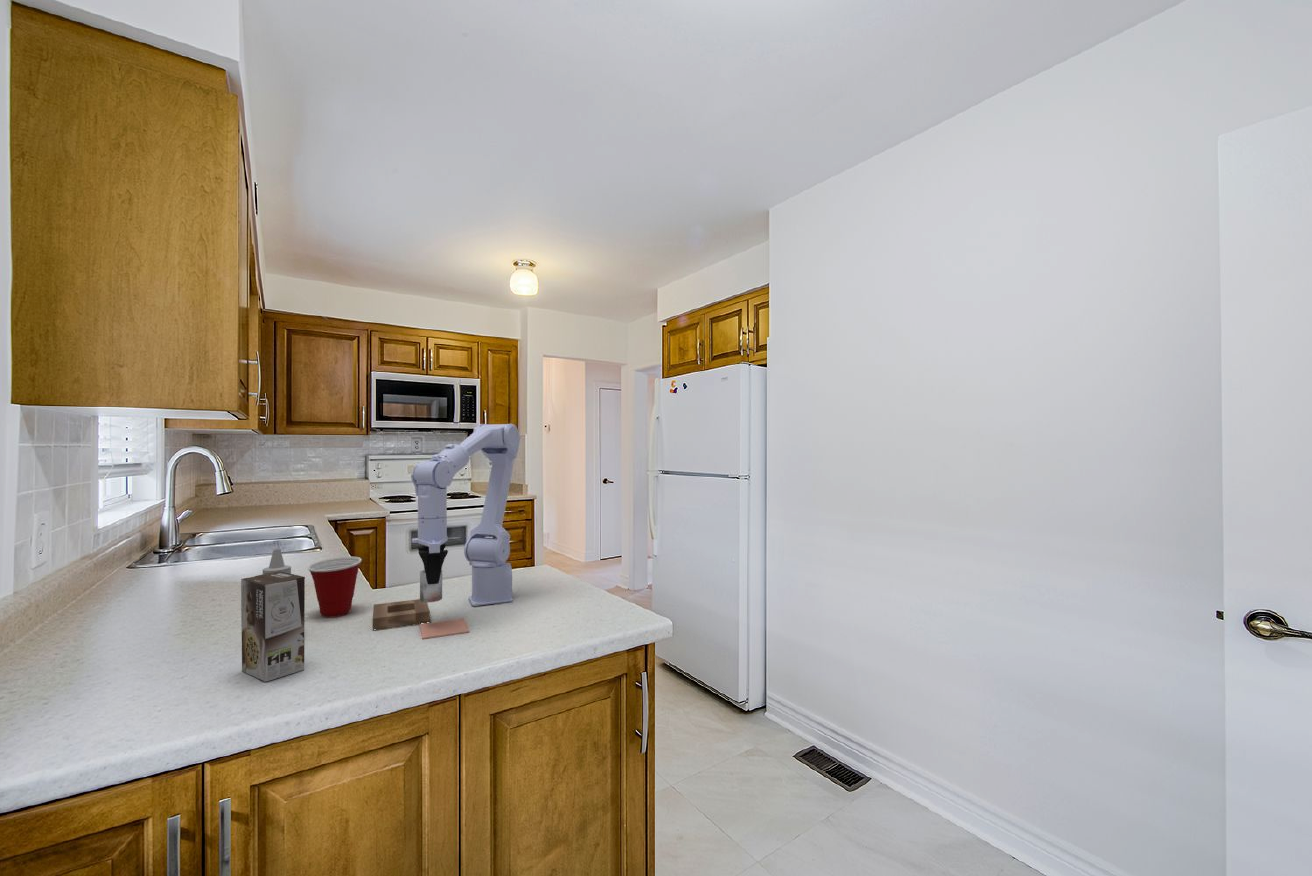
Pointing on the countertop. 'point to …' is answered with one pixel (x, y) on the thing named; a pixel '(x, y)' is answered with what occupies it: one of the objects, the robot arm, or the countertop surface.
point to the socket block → (400, 614)
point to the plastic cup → (335, 584)
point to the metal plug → (430, 589)
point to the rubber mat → (443, 628)
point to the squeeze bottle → (277, 563)
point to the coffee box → (273, 625)
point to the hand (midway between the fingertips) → (432, 581)
